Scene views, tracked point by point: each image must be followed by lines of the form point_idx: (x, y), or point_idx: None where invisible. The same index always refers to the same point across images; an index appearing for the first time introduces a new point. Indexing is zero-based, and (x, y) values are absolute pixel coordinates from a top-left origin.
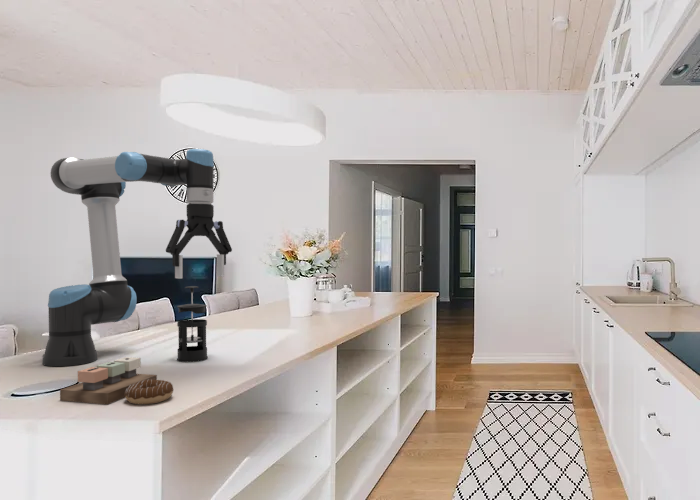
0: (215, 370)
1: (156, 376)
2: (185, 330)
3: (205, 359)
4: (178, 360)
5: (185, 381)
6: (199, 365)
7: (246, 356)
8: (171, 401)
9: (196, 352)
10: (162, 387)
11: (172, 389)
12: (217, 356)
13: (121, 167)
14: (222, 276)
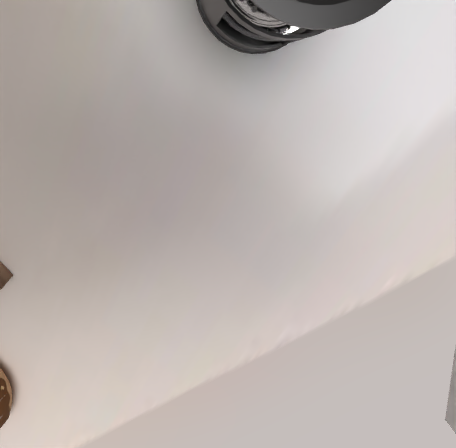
0: (223, 226)
1: (2, 287)
2: (220, 5)
3: (284, 45)
4: None
5: (94, 289)
6: (220, 121)
7: (420, 101)
8: None
9: (249, 47)
10: None
11: (2, 425)
12: None
13: None
14: (452, 419)
